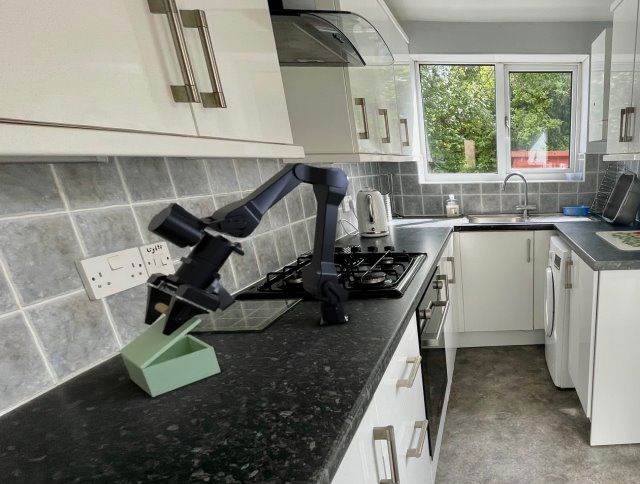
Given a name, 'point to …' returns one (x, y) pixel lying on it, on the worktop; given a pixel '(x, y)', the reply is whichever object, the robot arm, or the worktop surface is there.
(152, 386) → the bin
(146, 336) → the bin lid
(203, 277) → the robot arm
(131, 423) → the worktop surface
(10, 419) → the worktop surface
